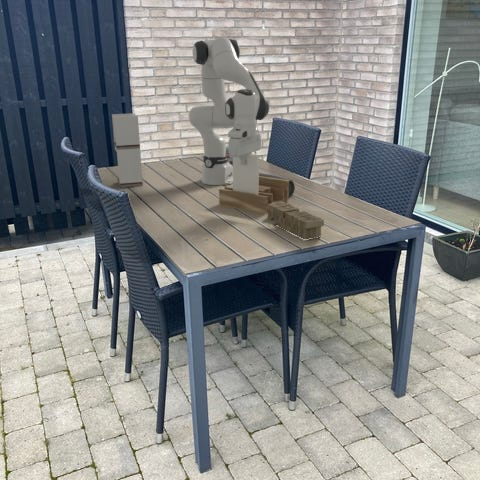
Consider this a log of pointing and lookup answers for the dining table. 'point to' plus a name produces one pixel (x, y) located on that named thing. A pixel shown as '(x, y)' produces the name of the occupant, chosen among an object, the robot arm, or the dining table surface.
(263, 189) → the offcut top
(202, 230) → the dining table surface
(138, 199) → the dining table surface
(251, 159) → the white rectangular panel
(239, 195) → the rack
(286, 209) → the block tower
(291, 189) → the bluetooth speaker
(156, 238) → the dining table surface
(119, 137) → the grey stacked pillar
